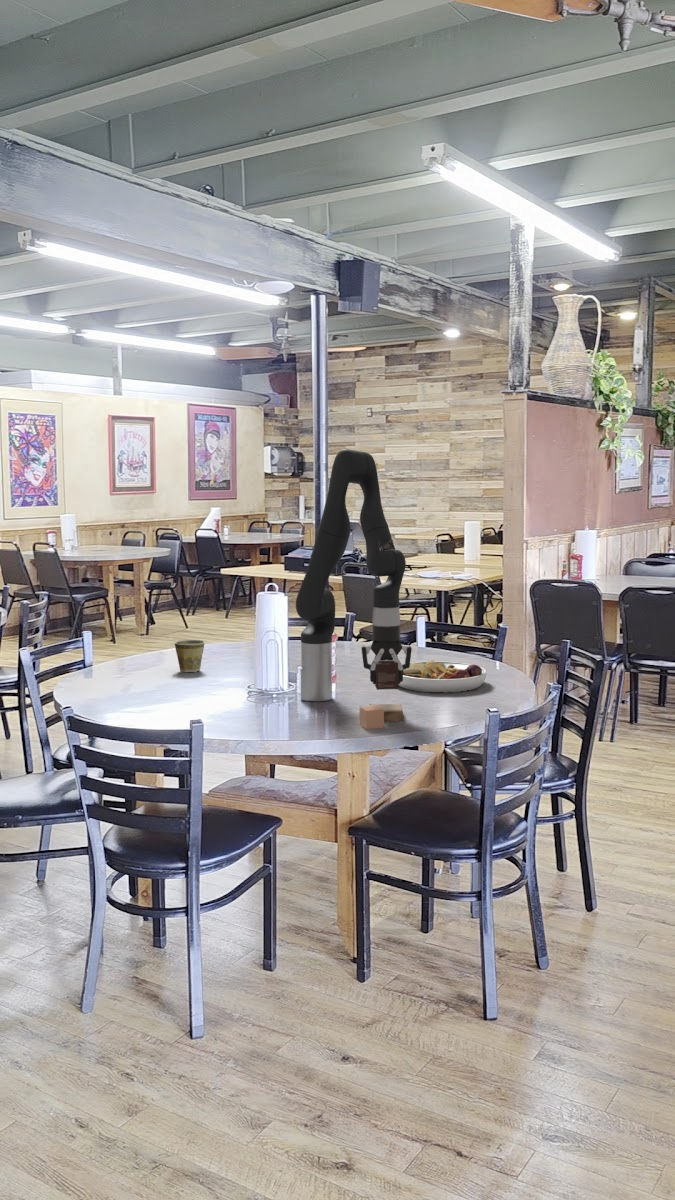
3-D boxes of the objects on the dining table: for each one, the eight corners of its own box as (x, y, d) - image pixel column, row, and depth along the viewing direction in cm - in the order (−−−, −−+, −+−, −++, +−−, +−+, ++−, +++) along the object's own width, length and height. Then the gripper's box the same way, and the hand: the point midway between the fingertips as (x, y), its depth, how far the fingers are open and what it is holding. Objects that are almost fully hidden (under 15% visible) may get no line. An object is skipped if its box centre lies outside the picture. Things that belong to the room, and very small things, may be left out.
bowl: (375, 689, 315) (375, 664, 314) (414, 673, 341) (414, 650, 340) (466, 699, 301) (466, 673, 300) (499, 681, 327) (499, 657, 326)
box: (396, 685, 280) (396, 659, 279) (398, 689, 274) (398, 663, 273) (374, 685, 279) (374, 659, 279) (376, 690, 273) (376, 663, 273)
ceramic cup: (202, 673, 339) (201, 644, 338) (173, 674, 339) (172, 644, 338) (208, 666, 352) (207, 638, 350) (179, 666, 352) (179, 638, 351)
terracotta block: (366, 729, 265) (366, 710, 264) (359, 725, 269) (359, 706, 269) (383, 727, 266) (383, 709, 265) (377, 723, 271) (377, 705, 270)
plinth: (369, 722, 273) (369, 711, 273) (369, 714, 282) (369, 704, 282) (402, 722, 273) (402, 711, 273) (401, 714, 282) (401, 704, 282)
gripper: (360, 625, 271) (360, 686, 273) (413, 625, 271) (413, 686, 273) (359, 621, 278) (360, 681, 280) (411, 621, 278) (411, 680, 280)
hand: (386, 683), depth 276 cm, fingers closed on box, 6 cm apart
